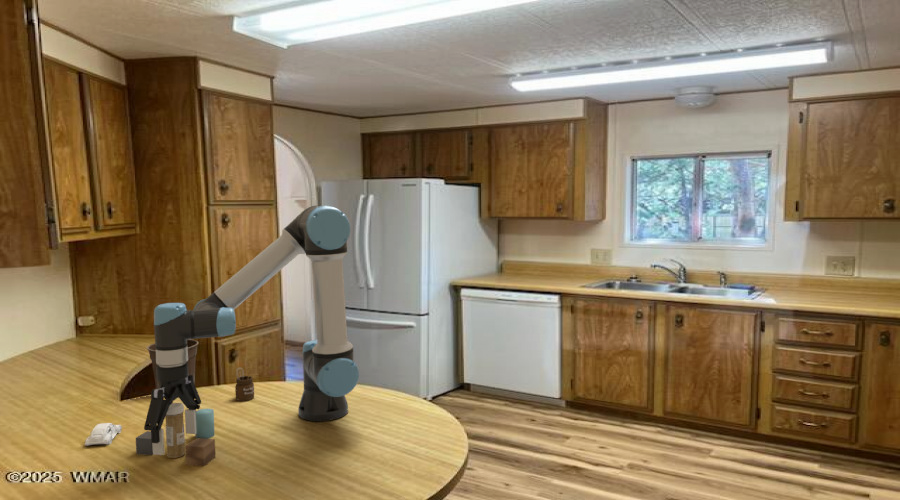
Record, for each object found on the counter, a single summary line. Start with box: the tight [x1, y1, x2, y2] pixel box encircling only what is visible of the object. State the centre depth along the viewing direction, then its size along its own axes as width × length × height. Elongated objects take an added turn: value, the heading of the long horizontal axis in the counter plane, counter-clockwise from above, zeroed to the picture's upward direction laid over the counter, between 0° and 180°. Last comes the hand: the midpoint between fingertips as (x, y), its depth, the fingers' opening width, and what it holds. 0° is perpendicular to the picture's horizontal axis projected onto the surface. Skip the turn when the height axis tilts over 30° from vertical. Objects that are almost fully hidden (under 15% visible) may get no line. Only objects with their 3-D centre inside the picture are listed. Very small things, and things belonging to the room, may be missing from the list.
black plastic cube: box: [135, 430, 154, 456], centre depth 160 cm, size 4×4×4 cm
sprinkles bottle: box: [165, 402, 186, 459], centre depth 157 cm, size 5×5×14 cm
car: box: [84, 422, 123, 447], centre depth 168 cm, size 12×6×5 cm, turn 9°
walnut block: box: [185, 437, 216, 467], centre depth 154 cm, size 5×5×5 cm
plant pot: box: [146, 339, 199, 389], centre depth 210 cm, size 16×16×16 cm
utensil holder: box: [234, 360, 255, 402], centre depth 201 cm, size 6×6×12 cm
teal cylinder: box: [194, 408, 216, 439], centre depth 170 cm, size 5×5×7 cm
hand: (175, 443), depth 157 cm, fingers open, 13 cm apart
